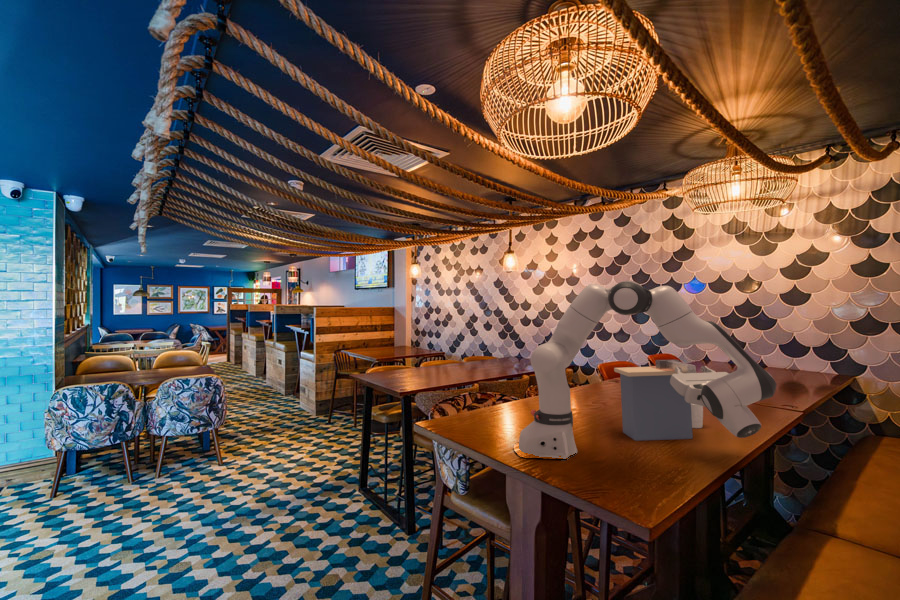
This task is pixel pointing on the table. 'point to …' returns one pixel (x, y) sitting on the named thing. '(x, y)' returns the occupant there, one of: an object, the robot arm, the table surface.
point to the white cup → (697, 416)
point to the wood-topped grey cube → (653, 405)
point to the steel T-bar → (675, 365)
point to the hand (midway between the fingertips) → (689, 367)
